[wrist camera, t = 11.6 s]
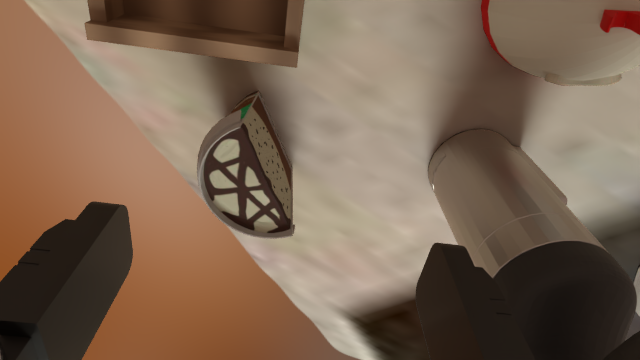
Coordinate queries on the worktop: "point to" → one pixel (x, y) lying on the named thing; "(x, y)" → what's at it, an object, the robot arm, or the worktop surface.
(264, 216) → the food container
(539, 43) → the kitchen timer
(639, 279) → the supplement box
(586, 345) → the robot arm
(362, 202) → the worktop surface
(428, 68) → the worktop surface
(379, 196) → the worktop surface
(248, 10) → the bay
